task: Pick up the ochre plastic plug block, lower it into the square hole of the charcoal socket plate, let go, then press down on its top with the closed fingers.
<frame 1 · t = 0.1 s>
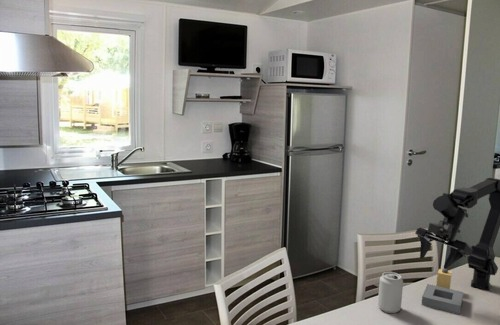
hand: (432, 263, 151), 15 cm above the table, tool tilted 30°, fingers open, 9 cm apart
socket: (442, 302, 155), on the table
can: (388, 309, 149), on the table
plug: (442, 289, 165), on the table
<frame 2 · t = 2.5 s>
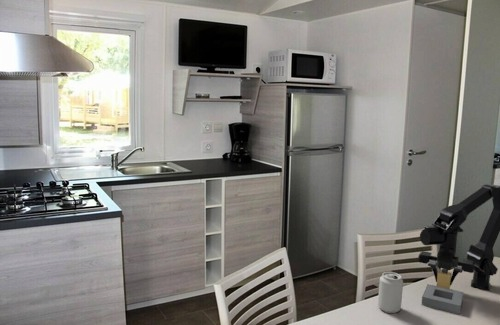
hand: (443, 283, 164), 3 cm above the table, tool pointing down, fingers closed on plug, 4 cm apart
plug: (442, 289, 165), on the table, touching gripper
everything else where it was.
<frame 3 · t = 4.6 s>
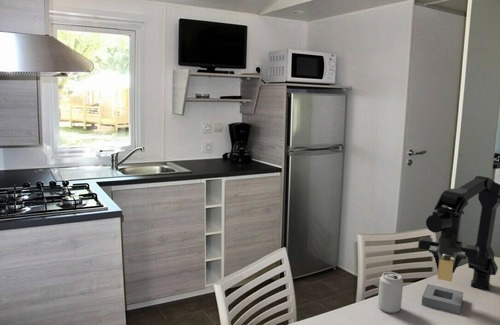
hand: (445, 270, 153), 12 cm above the table, tool pointing down, fingers closed on plug, 4 cm apart
plug: (444, 277, 153), point 9 cm above the table, touching gripper
everything else where it was.
when the fingers open (4 cm above the table, at t = 6.6 s): plug drops 2 cm, resting in socket.
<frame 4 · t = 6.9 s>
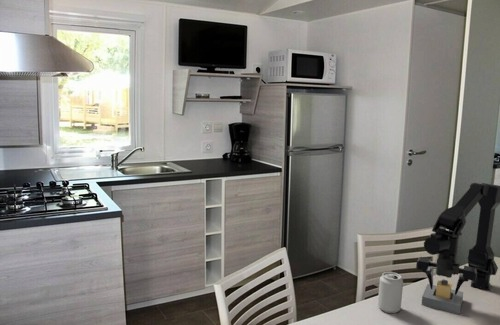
hand: (443, 291, 154), 4 cm above the table, tool pointing down, fingers open, 7 cm apart
plug: (442, 302, 155), resting in socket
everything else where it was.
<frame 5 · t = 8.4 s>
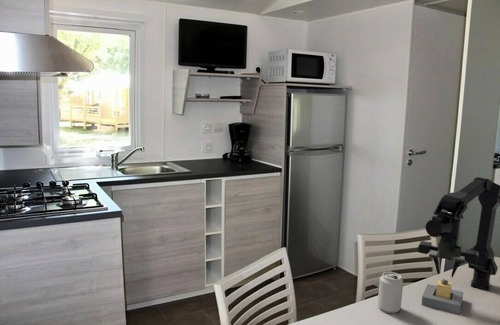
hand: (445, 275, 153), 10 cm above the table, tool pointing down, fingers open, 4 cm apart
nothing on the table moved.
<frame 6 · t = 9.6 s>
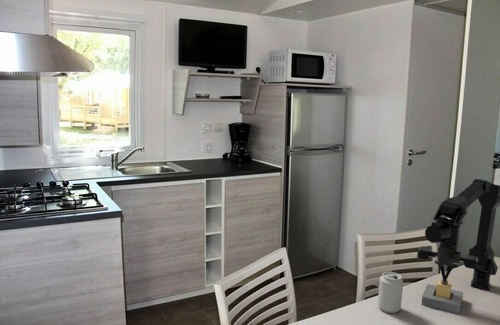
hand: (444, 280, 154), 8 cm above the table, tool pointing down, fingers closed
nothing on the table moved.
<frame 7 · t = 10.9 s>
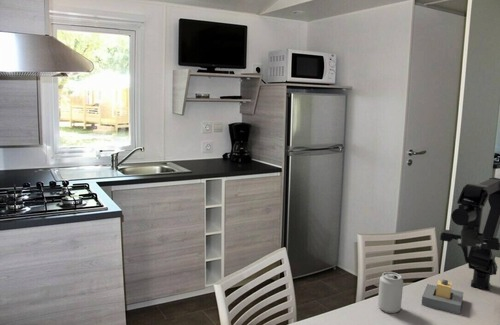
hand: (467, 262, 158), 13 cm above the table, tool pointing down, fingers closed
nothing on the table moved.
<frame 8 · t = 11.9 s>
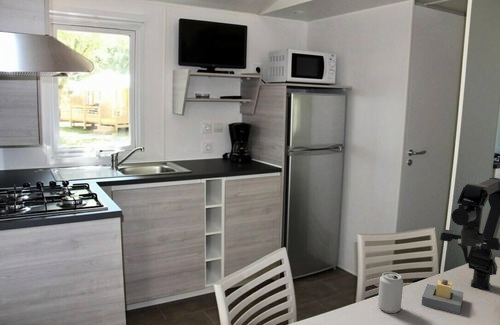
hand: (467, 262, 158), 13 cm above the table, tool pointing down, fingers closed
nothing on the table moved.
at the end: plug 0.0 cm off-centre on the socket, point 0.0 cm above the socket's base; plug tilted 0°; the gripper is holding nothing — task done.
